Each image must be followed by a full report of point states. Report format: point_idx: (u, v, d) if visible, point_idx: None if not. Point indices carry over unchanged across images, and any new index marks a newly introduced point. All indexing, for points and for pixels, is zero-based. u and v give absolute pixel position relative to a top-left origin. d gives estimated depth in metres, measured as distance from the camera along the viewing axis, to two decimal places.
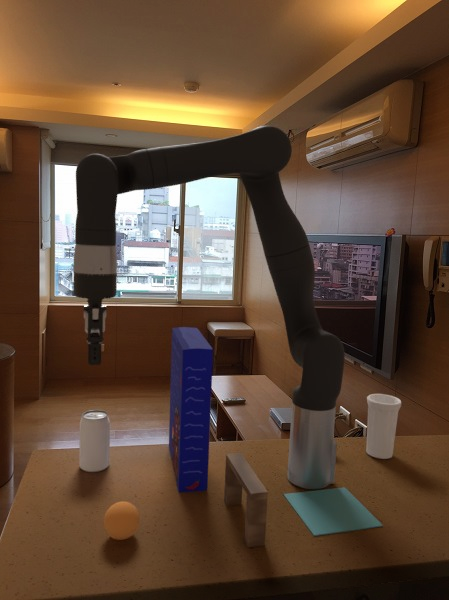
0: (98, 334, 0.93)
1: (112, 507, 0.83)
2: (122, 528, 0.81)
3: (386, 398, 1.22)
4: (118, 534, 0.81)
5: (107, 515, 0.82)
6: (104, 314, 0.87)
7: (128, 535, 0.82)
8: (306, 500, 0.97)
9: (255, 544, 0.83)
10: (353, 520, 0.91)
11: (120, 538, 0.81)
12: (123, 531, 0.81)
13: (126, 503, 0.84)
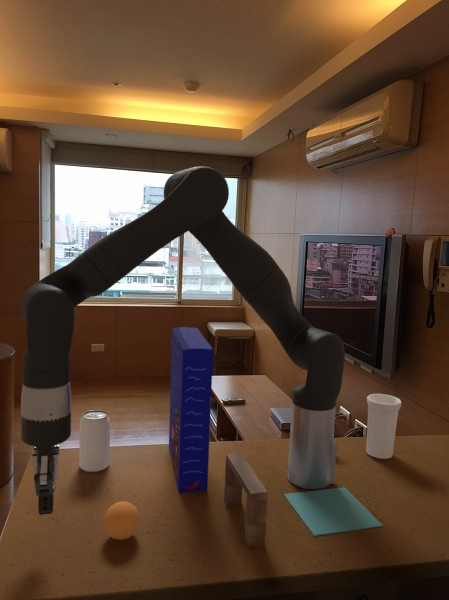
0: None
1: (112, 507, 0.83)
2: (122, 528, 0.81)
3: (386, 398, 1.22)
4: (118, 534, 0.81)
5: (107, 515, 0.82)
6: (56, 463, 0.77)
7: (128, 535, 0.82)
8: (306, 500, 0.97)
9: (255, 544, 0.83)
10: (353, 520, 0.91)
11: (120, 538, 0.81)
12: (123, 531, 0.81)
13: (126, 503, 0.84)
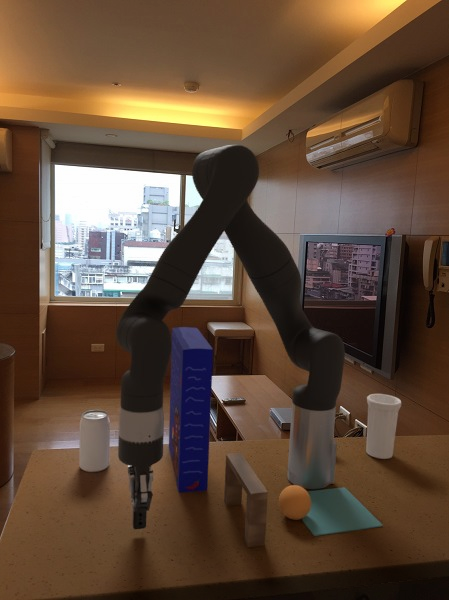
0: None
1: None
2: (299, 512, 0.89)
3: (386, 398, 1.22)
4: (305, 510, 0.89)
5: None
6: (151, 481, 0.82)
7: (303, 501, 0.89)
8: None
9: (255, 544, 0.83)
10: (353, 520, 0.91)
11: (308, 504, 0.90)
12: (301, 509, 0.89)
13: (280, 507, 0.91)
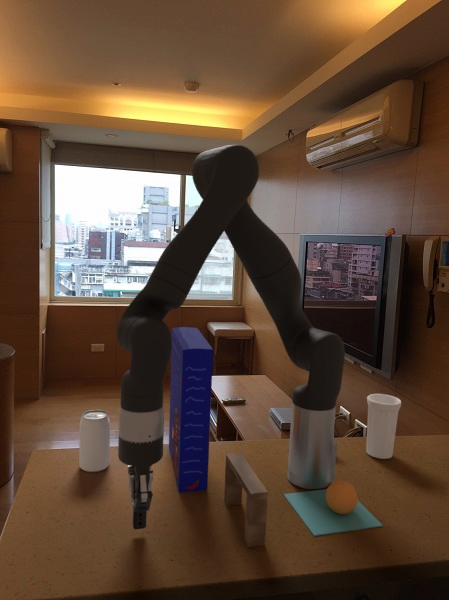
0: None
1: None
2: (351, 504, 0.91)
3: (386, 398, 1.22)
4: (344, 504, 0.91)
5: (345, 484, 0.93)
6: (151, 481, 0.82)
7: (344, 511, 0.92)
8: (306, 500, 0.97)
9: (255, 544, 0.83)
10: (353, 520, 0.91)
11: (339, 507, 0.91)
12: (348, 506, 0.91)
13: None
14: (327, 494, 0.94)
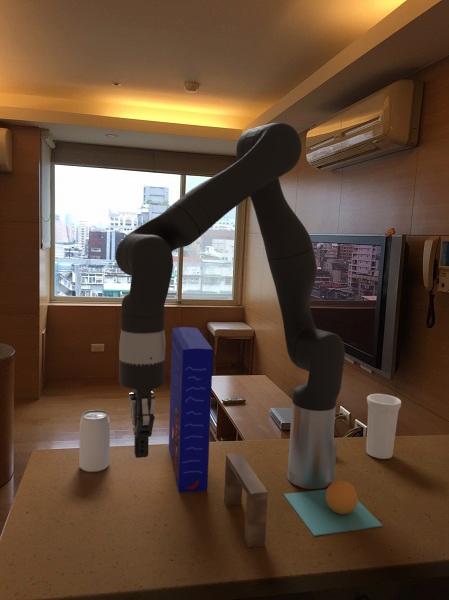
0: None
1: None
2: (351, 504, 0.91)
3: (386, 398, 1.22)
4: (344, 504, 0.91)
5: (345, 484, 0.93)
6: (153, 407, 0.80)
7: (344, 511, 0.92)
8: (306, 500, 0.97)
9: (255, 544, 0.83)
10: (353, 520, 0.91)
11: (339, 507, 0.91)
12: (348, 506, 0.91)
13: None
14: (327, 494, 0.94)
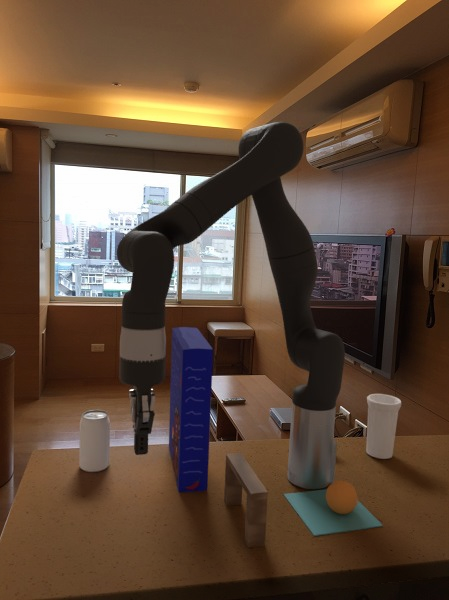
0: None
1: None
2: (351, 504, 0.91)
3: (386, 398, 1.22)
4: (344, 504, 0.91)
5: (345, 484, 0.93)
6: (153, 404, 0.80)
7: (344, 511, 0.92)
8: (306, 500, 0.97)
9: (255, 544, 0.83)
10: (353, 520, 0.91)
11: (339, 507, 0.91)
12: (348, 506, 0.91)
13: None
14: (327, 494, 0.94)
